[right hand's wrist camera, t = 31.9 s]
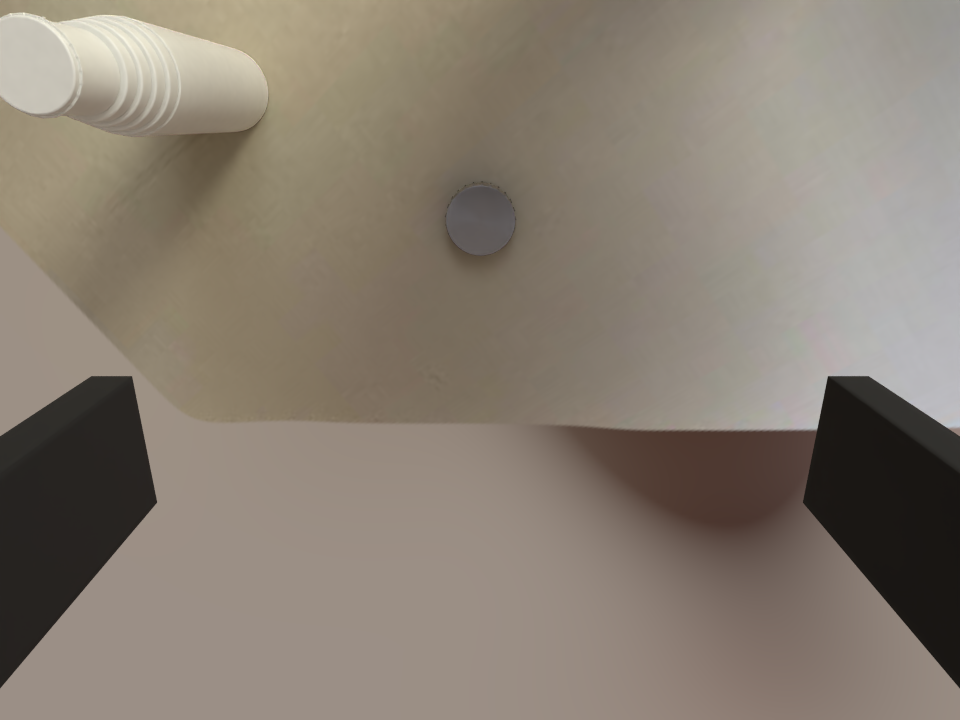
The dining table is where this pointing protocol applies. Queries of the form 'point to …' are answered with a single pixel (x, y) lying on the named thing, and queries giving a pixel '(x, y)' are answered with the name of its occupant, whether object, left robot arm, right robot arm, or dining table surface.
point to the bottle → (127, 76)
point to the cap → (480, 219)
